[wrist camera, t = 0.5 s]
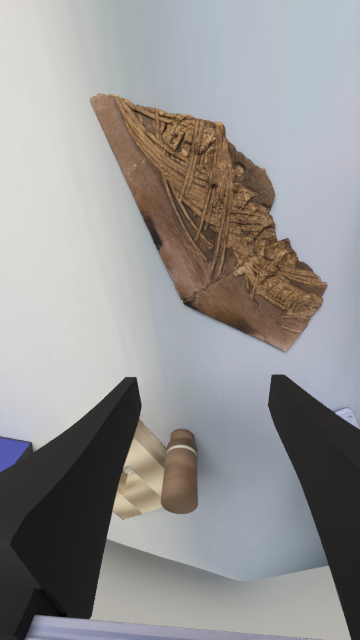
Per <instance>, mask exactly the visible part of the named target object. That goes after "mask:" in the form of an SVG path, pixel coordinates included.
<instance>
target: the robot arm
mask: <svg viewBox="0 0 360 640" xmlns="http://www.w3.org/2000/svg"><path fill="white" fill-rule="evenodd" d="M141 406H142V405H141V400H140V394H139V389H138V383H137V378H136V377H125V378H124V379H123V380H122V381H121V382H120V383H119V384H118V385H117V386H116V387H115V388H114V389H113V390H112V391H111V392H110V393H109V394H108V395H107V396H106V397H105V398H104V399H103V400H102V401H101V402H100V403H98V404H97V405H96V406H95V407H94V408H93V409H92V410H90V411H89V412H88V413H87V414H86V415H85V416H84V417H82V418H81V419H80V420H79V421H78V422H76V423H75V424H74V425H73V426H71V427H70V428H69V429H67V430H66V431H65V432H63V433H62V434H60V435H59V436H58V437H56V438H55V439H53V440H52V441H50V442H49V443H47V444H46V445H44V446H43V447H41V448H40V449H38V450H37V451H35V452H34V453H32V454H30V455H29V456H27V457H25V458H24V459H22V460H20V461H19V462H17V463H15V464H14V465H12V466H10V467H8V468H7V469H5V470H3V471H1V472H0V640H319V639H307V638H296V637H283V636H273V635H261V634H250V633H238V632H227V631H215V630H202V629H192V628H181V627H169V626H158V625H146V624H135V623H123V622H111V621H100V620H89V619H90V617H91V616H92V611H93V605H94V600H95V594H96V589H97V584H98V578H99V573H100V568H101V563H102V558H103V553H104V548H105V543H106V538H107V534H108V529H109V524H110V520H111V515H112V511H113V506H114V502H115V498H116V494H117V490H118V485H119V481H120V477H121V474H122V471H123V467H124V464H125V461H126V458H127V455H128V453H129V450H130V447H131V444H132V441H133V438H134V435H135V431H136V428H137V425H138V421H139V417H140V412H141ZM268 407H269V410H270V413H271V416H272V419H273V422H274V425H275V427H276V430H277V432H278V434H279V436H280V438H281V441H282V443H283V445H284V447H285V449H286V451H287V454H288V456H289V458H290V460H291V462H292V464H293V466H294V469H295V471H296V473H297V475H298V478H299V480H300V483H301V485H302V488H303V491H304V494H305V496H306V499H307V502H308V505H309V507H310V510H311V513H312V516H313V519H314V522H315V525H316V528H317V531H318V533H319V536H320V539H321V542H322V545H323V549H324V552H325V555H326V558H327V561H328V564H329V567H330V570H331V573H332V576H333V579H334V583H335V587H336V591H337V595H338V598H339V601H340V604H341V607H342V610H343V612H344V616H345V619H346V622H347V626H348V629H349V633H350V636H351V640H360V428H359V425H358V423H357V421H356V419H355V416H354V414H353V412H352V411H351V410H350V409H349V408H345V409H342V410H339V411H336V412H333V411H331V410H330V409H329V408H327V407H326V406H324V405H323V404H322V403H320V402H319V401H318V400H316V399H315V398H314V397H312V396H311V395H310V394H308V393H307V392H306V391H305V390H303V389H302V388H301V387H299V386H298V385H297V384H296V383H294V382H293V381H292V380H291V379H289V378H288V377H287V376H285V375H272V377H271V385H270V394H269V402H268Z"/></svg>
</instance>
